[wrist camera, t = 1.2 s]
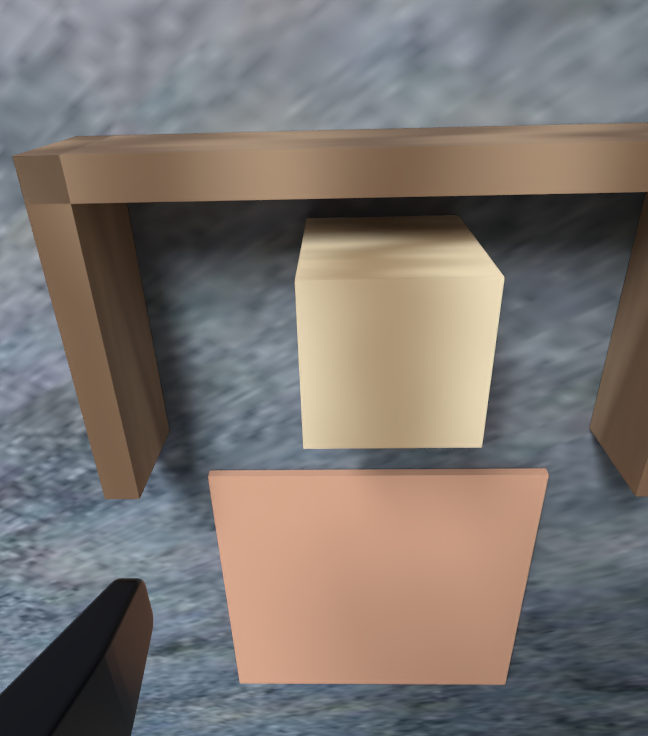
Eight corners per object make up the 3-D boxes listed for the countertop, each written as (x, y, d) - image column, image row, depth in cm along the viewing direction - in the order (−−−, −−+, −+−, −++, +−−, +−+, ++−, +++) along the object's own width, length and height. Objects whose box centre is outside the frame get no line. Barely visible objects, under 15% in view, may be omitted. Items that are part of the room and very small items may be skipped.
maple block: (458, 214, 19) (504, 277, 14) (446, 350, 21) (481, 447, 16) (306, 217, 19) (294, 280, 14) (311, 351, 21) (303, 448, 16)
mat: (545, 468, 24) (548, 474, 23) (503, 677, 30) (505, 684, 30) (209, 470, 24) (207, 476, 24) (241, 676, 31) (240, 683, 30)
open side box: (702, 121, 17) (796, 137, 14) (620, 427, 23) (671, 496, 19) (76, 136, 18) (12, 156, 14) (140, 431, 23) (105, 498, 20)
